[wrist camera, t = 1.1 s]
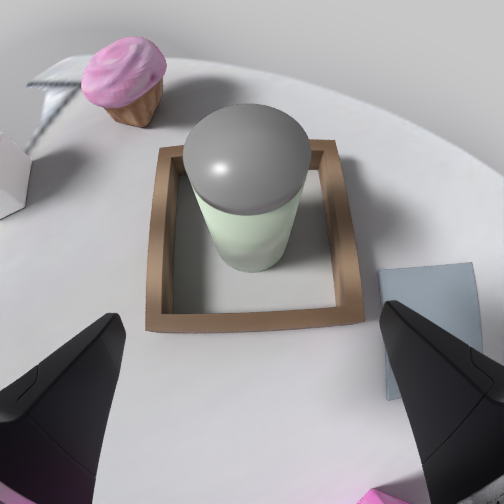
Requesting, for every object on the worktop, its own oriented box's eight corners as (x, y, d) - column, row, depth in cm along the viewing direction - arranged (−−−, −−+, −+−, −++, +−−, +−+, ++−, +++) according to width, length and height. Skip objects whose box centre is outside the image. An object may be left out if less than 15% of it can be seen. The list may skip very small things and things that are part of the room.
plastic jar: (290, 270, 24) (319, 201, 12) (215, 274, 24) (178, 207, 12) (284, 203, 26) (301, 102, 14) (215, 206, 26) (188, 108, 14)
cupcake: (93, 135, 29) (55, 76, 19) (132, 85, 31) (109, 26, 22) (152, 148, 28) (119, 77, 18) (191, 93, 30) (175, 23, 21)
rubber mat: (479, 372, 20) (482, 372, 20) (386, 399, 20) (389, 400, 20) (468, 263, 23) (471, 262, 23) (377, 271, 24) (379, 269, 23)
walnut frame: (351, 324, 22) (364, 321, 19) (158, 332, 22) (145, 330, 19) (328, 159, 27) (334, 140, 24) (168, 166, 27) (159, 147, 24)
